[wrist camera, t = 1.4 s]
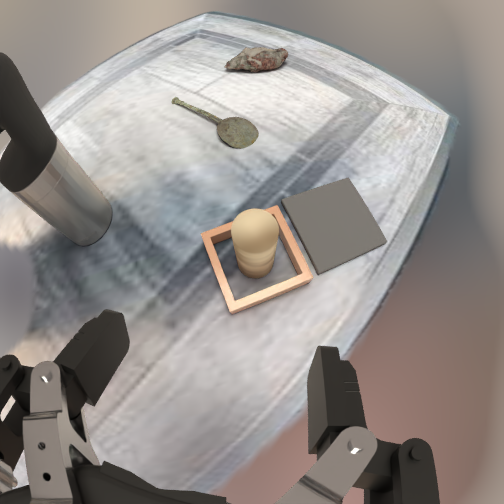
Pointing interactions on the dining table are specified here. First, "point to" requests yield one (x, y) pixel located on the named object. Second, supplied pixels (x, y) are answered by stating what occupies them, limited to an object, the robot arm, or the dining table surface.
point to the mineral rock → (258, 59)
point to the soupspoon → (230, 128)
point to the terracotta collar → (268, 293)
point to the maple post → (255, 242)
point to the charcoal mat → (333, 224)
